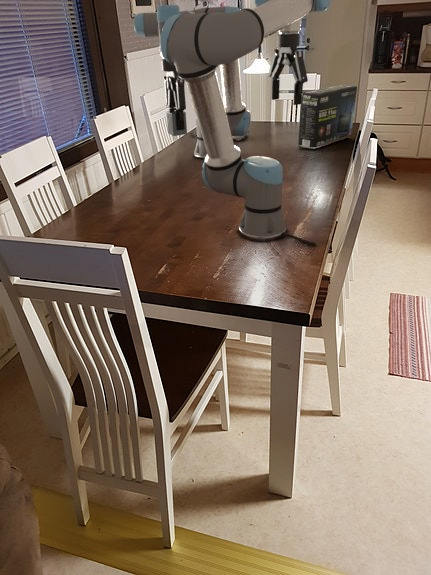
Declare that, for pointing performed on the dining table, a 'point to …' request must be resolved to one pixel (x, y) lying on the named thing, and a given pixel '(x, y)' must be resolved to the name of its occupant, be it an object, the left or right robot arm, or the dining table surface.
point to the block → (173, 126)
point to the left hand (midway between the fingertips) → (177, 128)
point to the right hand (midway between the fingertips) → (286, 102)
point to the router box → (326, 115)
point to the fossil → (239, 136)
